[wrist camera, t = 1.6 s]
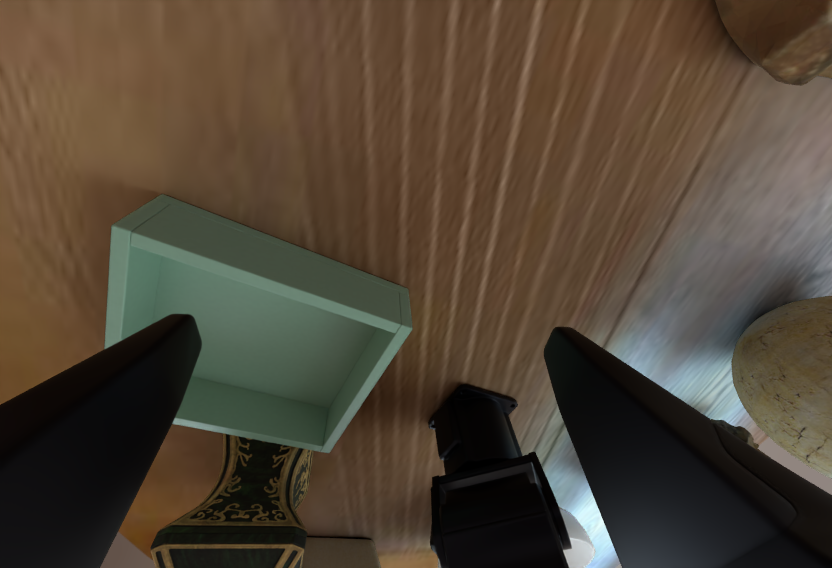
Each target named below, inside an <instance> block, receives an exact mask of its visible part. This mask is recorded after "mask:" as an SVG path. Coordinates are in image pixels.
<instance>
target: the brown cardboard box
mask: <svg viewBox="0 0 832 568" xmlns="http://www.w3.org/2000/svg"><path fill="white" fill-rule="evenodd" d="M302 568H381V566H380V562H379V558H378V555H377V551H376V548H375V545H374V542H373V541H372V540H367V539H341V538H315V537H307V538H306V544H305V551H304V557H303V563H302Z"/></svg>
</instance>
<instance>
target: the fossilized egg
mask: <svg viewBox="0 0 832 568" xmlns="http://www.w3.org/2000/svg"><path fill="white" fill-rule="evenodd" d="M732 376H733V383H734V386H735V389H736V391H737V394H738V396H739V398H740V400H741V402H742V404H743V406H744V408H745V409H746V411H747V412H748V413H749V415H750V416H751V418H752V419H753V420H754V422H755V423H756V424H757V426H758V427H759V428H760V429H761V430H762V431H763V432H764V433H765V434H767V435H768V436H769V437H770V438H771V439H772V440H773V441H774V442H775V443H776V444H778V445H779V446H780V447H782V448H783V449H784V450H786V451H787V452H789V453H790V454H791V455H793V456H794V457H796V458H797V459H798V460H800V461H802V462H803V463H804V464H806V465H807V466H809V467H811V468H813V469H815V470H816V471H818V472H820V473H822V474H823V475H825V476H827V477H829V478H831V479H832V296H825V297H818V298H811V299H806V300H800V301H795V302H792V303H788V304H785V305H783V306H780V307H778V308H776V309H773V310H771V311H770V312H768V313H766V314H764V315H762V316H761V317H759V318H758V319H757V320H755V321H754V322H753V323H752V324H751V325H750V326H749V327H748V328H747V329H746V330H745V331H744V332H743V333H742V335H741V336H740V337H739V339H738V341H737V343H736V346H735V349H734V353H733V357H732Z"/></svg>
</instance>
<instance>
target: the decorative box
mask: <svg viewBox="0 0 832 568" xmlns="http://www.w3.org/2000/svg"><path fill="white" fill-rule="evenodd" d="M313 451H314V450H308V449H303V448H298V447H293V446H287V445H282V444H277V443H271V442H266V441H261V440H256V439H250V438H245V437H240V436H235V435H229V434H224V433H223V462H222V467H221V471H220V474H219V477H218V480H217V482H216V484H215V486H214V488H213V489H212V491H211V492H210V494H209V495H208V496H207V498H206V499H205V500H204V501H203V502H202V503H201V504H200V505H199V506H197V507H196V508H195V509H193V510H191V511H190V512H188V513H187V514H185V515H183V516H182V517H180V518H178V519H177V520H175V521H173V522H172V523H170V524H168V525H167V526H165V527H164V528H162V529H160V531H159V532H158V533H157V535H156V537H155V539H154V541H153V543H152V546H151V554H152V557H153V560H154V563H155V567H156V568H302V563H303V557H304V551H305V544H306V538H307V530H306V528H305V527H304V525H303V523H302V522H301V520H300V518H299V517H298V515H297V513H296V511H297V509H298V508H299V506H300V504H301V503H302V501H303V499H304V498H305V496H306V494H307V492H308V486H309V479H310V472H311V465H312V458H313Z"/></svg>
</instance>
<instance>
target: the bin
mask: <svg viewBox="0 0 832 568" xmlns="http://www.w3.org/2000/svg"><path fill="white" fill-rule="evenodd" d="M408 295H409V293H408V289H407V288H405V287H402V286H399V285H397V284H394V283H392V282H389V281H386V280H384V279H381V278H379V277H376V276H374V275H371V274H368V273H366V272H363V271H361V270H358V269H355V268H353V267H350V266H348V265H345V264H342V263H340V262H337V261H335V260H332V259H330V258H327V257H324V256H322V255H319V254H317V253H314V252H311V251H309V250H306V249H304V248H301V247H298V246H296V245H293V244H291V243H288V242H286V241H283V240H280V239H278V238H275V237H273V236H270V235H267V234H265V233H262V232H260V231H257V230H254V229H252V228H249V227H247V226H244V225H242V224H239V223H236V222H234V221H231V220H229V219H226V218H223V217H221V216H218V215H216V214H213V213H210V212H208V211H205V210H203V209H200V208H198V207H195V206H192V205H190V204H187V203H185V202H182V201H179V200H177V199H174V198H172V197H169V196H166V195H164V194H161V195H159V196H158V197H156V198H155V199H153V200H151V201H150V202H148V203H146V204H145V205H143V206H142V207H140V208H138V209H137V210H135V211H133V212H132V213H130V214H129V215H127V216H125V217H124V218H122V219H121V220H119V221H117V222H116V223H114V224H113V225H112V226H111V243H110V260H109V278H108V295H107V313H106V330H105V348H104V349H106V348H108V347H110V346H112V345H114V344H116V343H117V342H119V341H121V340H123V339H125V338H127V337H129V336H131V335H132V334H134V333H136V332H138V331H140V330H142V329H144V328H146V327H147V326H149V325H151V324H153V323H155V322H157V321H159V320H161V319H162V318H164V317H166V316H168V315H170V314H190V315H192V316H193V317H194V318H195V321H196V324H197V327H198V330H199V333H200V336H201V340H202V348H201V351H200V354H199V357H198V360H197V362H196V365H195V368H194V371H193V373H192V376H191V379H190V381H189V384H188V387H187V390H186V392H185V395H184V398H183V400H182V403H181V405H180V408H179V410H178V412H177V414H176V417H175V419H174V421H173V423H172V424H177V425H182V426H187V427H193V428H198V429H203V430H208V431H214V432H219V433H224V434H229V435H235V436H240V437H245V438H250V439H256V440H261V441H266V442H271V443H277V444H282V445H287V446H293V447H298V448H303V449H308V450H314V451H320V452H325V453H330V451H331V450H332V448H333V447H334V445H335V444H336V442H337V441H338V439H339V438H340V436H341V435H342V433H343V432H344V430H345V429H346V427H347V426H348V424H349V423H350V421H351V420H352V418H353V417H354V415H355V414H356V412H357V411H358V409H359V408H360V406H361V405H362V403H363V402H364V401H365V399H366V398H367V396H368V395H369V393H370V392H371V390H372V389H373V387H374V386H375V384H376V383H377V381H378V380H379V378H380V377H381V375H382V374H383V372H384V371H385V369H386V368H387V366H388V365H389V363H390V362H391V360H392V359H393V357H394V356H395V354H396V353H397V351H398V350H399V348H400V347H401V345H402V344H403V342H404V341H405V339H406V338H407V336H408V335H409V333H410V332H411V330H412V319H411V310H410V301H409V296H408Z"/></svg>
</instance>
